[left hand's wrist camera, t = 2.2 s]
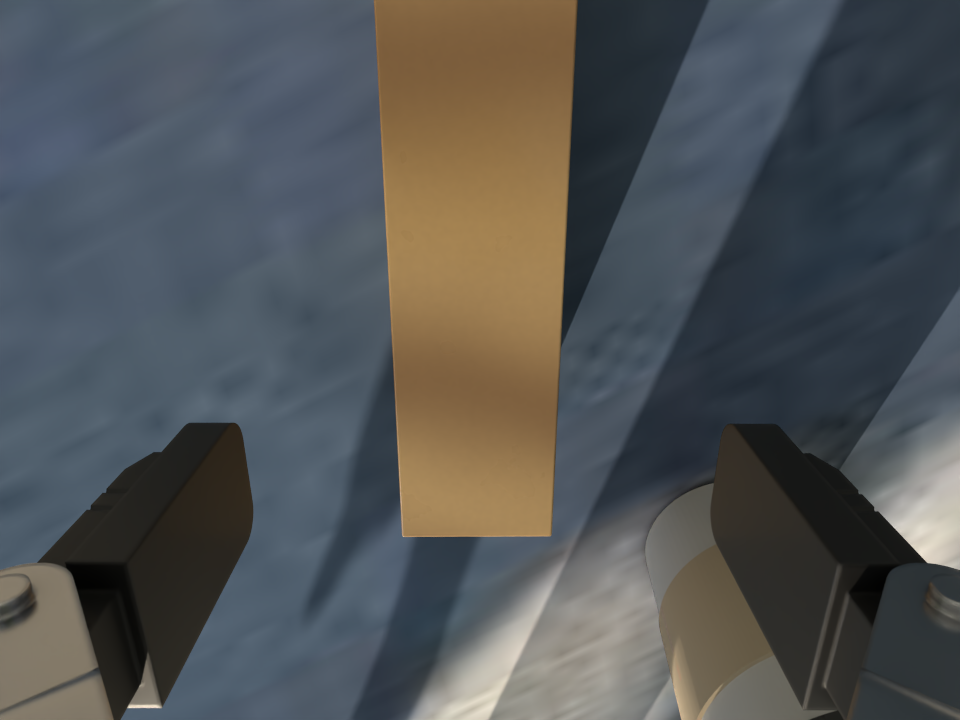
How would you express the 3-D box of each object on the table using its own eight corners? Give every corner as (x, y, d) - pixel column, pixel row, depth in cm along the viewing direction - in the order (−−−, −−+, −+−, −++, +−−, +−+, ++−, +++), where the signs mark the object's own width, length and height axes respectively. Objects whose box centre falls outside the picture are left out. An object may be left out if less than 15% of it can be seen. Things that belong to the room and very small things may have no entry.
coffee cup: (857, 533, 31) (1172, 898, 17) (712, 649, 33) (883, 1048, 19) (724, 422, 29) (961, 736, 15) (580, 555, 31) (666, 930, 17)
